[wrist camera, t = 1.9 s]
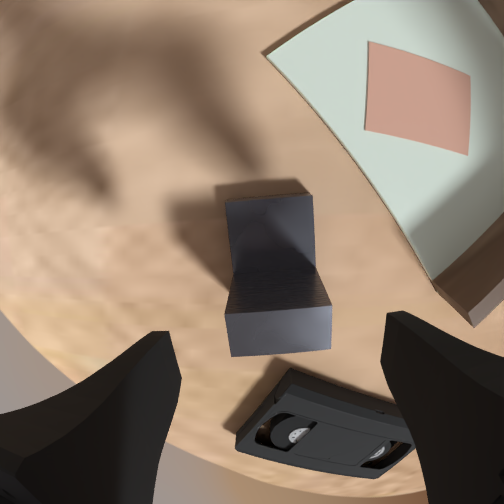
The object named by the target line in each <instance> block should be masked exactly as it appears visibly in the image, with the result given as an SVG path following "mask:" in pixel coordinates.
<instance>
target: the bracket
mask: <svg viewBox="0 0 504 504" xmlns="http://www.w3.org/2000/svg"><path fill="white" fill-rule="evenodd" d="M225 207H226V216H227V224H228V233H229V241H230V249H231V257H232V265H233V273H234V274H233V279H232V283H231V288H230V292H229V296H228V301H227V305H226V310H225V321H226V327H227V333H228V340H229V346H230V352H231V357H240V356H258V355H273V354H286V353H297V352H308V351H317V350H326V349H331V335H332V304H331V301H330V299H329V297H328V294H327V292H326V290H325V287H324V285H323V283H322V281H321V278H320V276H319V274H318V271H317V269H316V262H315V235H314V214H313V196H312V195H311V194H310V193H298V194H284V195H272V196H260V197H249V198H238V199H228V200H227V201H226V202H225Z"/></svg>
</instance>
